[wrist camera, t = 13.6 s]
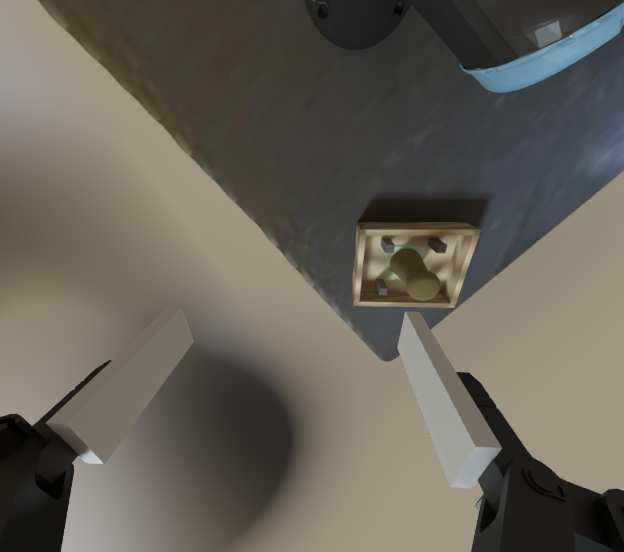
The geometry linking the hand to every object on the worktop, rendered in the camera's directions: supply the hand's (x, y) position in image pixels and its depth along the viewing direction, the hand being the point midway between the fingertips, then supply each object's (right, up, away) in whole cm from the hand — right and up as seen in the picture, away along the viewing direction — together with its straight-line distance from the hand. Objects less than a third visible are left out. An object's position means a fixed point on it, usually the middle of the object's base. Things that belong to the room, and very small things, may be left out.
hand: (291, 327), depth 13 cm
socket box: (+20, +6, +32) cm, 39 cm away
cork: (+20, +6, +31) cm, 38 cm away
